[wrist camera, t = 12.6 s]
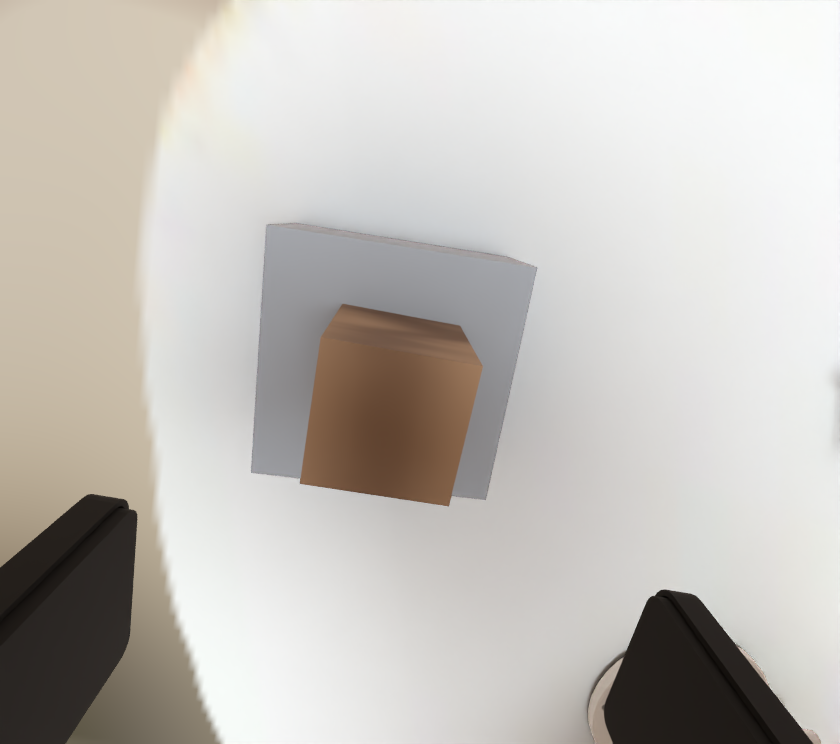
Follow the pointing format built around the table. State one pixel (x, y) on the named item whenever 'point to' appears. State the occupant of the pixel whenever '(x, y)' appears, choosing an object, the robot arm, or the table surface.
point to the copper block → (390, 406)
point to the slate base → (391, 292)
